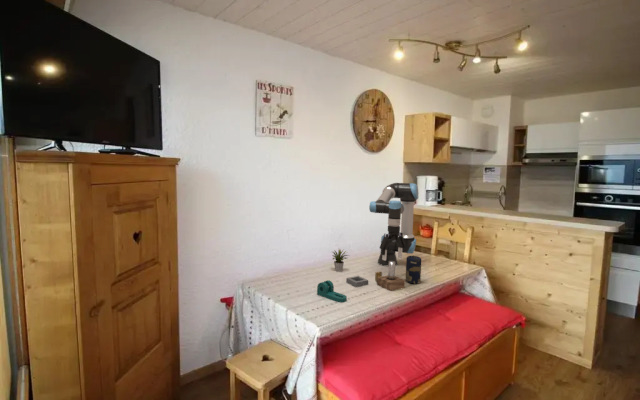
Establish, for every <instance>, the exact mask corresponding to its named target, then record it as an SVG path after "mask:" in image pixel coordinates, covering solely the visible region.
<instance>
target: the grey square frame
mask: <svg viewBox="0 0 640 400" xmlns="http://www.w3.org/2000/svg"><path fill="white" fill-rule="evenodd" d="M345 282H346V283H347V284H349V285H350V286H353V287H354V288H360V287H364V286H368V285H369V279H366V278H364V277H362V276H360V275H354V276H351V277H346V279H345Z"/></svg>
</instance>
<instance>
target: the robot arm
mask: <svg viewBox="0 0 640 400" xmlns="http://www.w3.org/2000/svg"><path fill="white" fill-rule="evenodd" d="M418 187H419V186H418V185H417V184H416V183H412V182H411V183H410V182H393V183H391V184H388V185H386V186H385V187H384V188H383V189H382V193H381V194H380V195H379V197H378V198H377V199H376V201H370V203H369V212H371V213H374V214H387V215H388V217H387V225H388V226H387V232H388V233H383V235H381V239H380V246H379V250H380V253H379V257H378V259H377V264H378V263H380V264H382V265H381V266H384V265H388V266H387V267H389V261H395V265H396V266H397V265H398V259H402V258H403V253H404V254H414V252H415V250H416V246H417V238H415V235H414V234H413V232H414V231H413V230H414V228H413V227H414V205H415V203H416V202H417V200H418V199H419V188H418ZM392 199H399V200H392ZM396 253H397V256H396ZM397 258H398V259H397ZM380 264H379V265H380Z"/></svg>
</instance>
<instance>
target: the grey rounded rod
mask: <svg viewBox="0 0 640 400" xmlns="http://www.w3.org/2000/svg"><path fill="white" fill-rule="evenodd" d="M387 271H388V272H387V273H388V274H387V275H388V279H389V280H394V278H395V273H396V272H395V271H396V266H395V261H389V266H388V269H387Z"/></svg>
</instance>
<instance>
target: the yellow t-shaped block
mask: <svg viewBox="0 0 640 400" xmlns="http://www.w3.org/2000/svg"><path fill="white" fill-rule="evenodd" d="M374 274H375V275H374V281H375V282H377V280H378V277H382V276H383V272H382V271H381V270H379V271H376V272H375V273H374Z"/></svg>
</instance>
